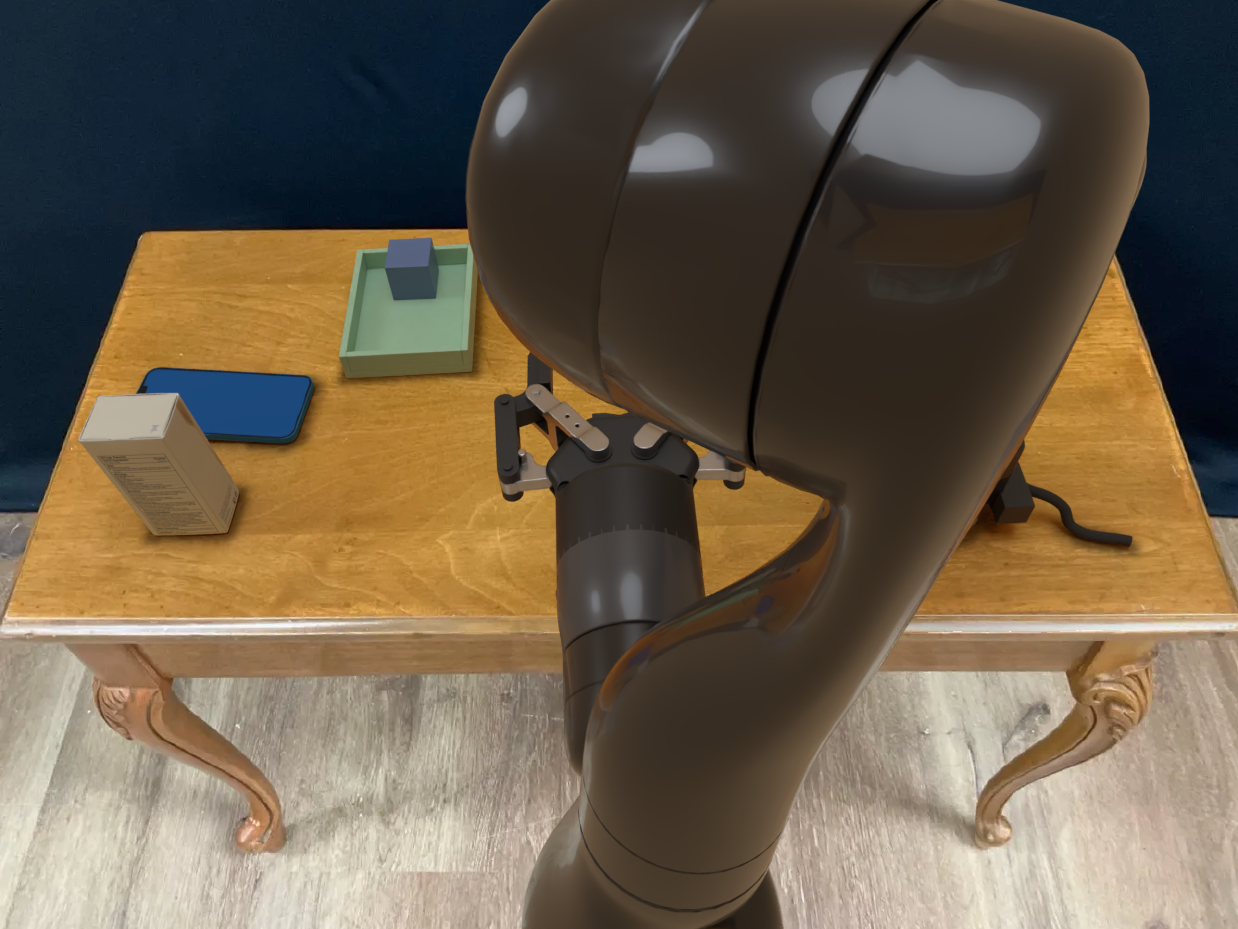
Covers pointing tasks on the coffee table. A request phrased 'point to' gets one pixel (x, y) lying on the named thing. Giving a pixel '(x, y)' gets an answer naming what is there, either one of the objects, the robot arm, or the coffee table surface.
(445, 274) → the tray
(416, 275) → the block
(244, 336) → the coffee table surface
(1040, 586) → the coffee table surface
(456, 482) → the coffee table surface
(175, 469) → the cosmetic box
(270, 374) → the smartphone
